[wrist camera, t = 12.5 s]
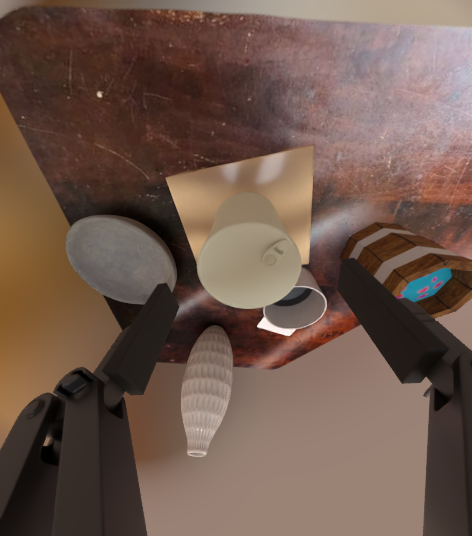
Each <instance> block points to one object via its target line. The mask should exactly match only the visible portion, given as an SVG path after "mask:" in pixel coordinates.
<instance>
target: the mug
mask: <svg viewBox="0 0 472 536" xmlns="http://www.w3.org/2000/svg"><path fill="white" fill-rule="evenodd" d="M340 258H341V260H342V259H347V258H355V259H356V260H357V261H358V262H359V263H360V264H361V265H362V266H363V267H365V268H366V269H367V270H368V271H369V272H370V273H371V274H372V275H373V276H374V277H375V278H376V279H377V280H378V281H379V282H380V283H381V284H382V285H383V286H385V287H386V288H387V289H388V290H389V291H390V292H391V293H392V294H393V295H394V296H395V297H396V298H397V299H398V298H407V299H409V300H411V301H413V302H415V303H416V304H418V305H419V306H420V307H422V308H423V309H424V310H425V311H426V312H427V314H430V315H431V316H432V317H433V318H437V317H440V316H443V315H446V314H449V313H452V312H455V311H457V310H458V309H459V308H460V307H461V306H463V305H464V304H465V303H466V302H467V301H469V300H470V299H471V298H472V260H471V259H468V258H465V257H462V256H460V255H458V254H455V253H453V252H451V251H449V250H447V249H445V248H444V247H442V246H440V245H439V244H437V243H435V242H434V241H432V240H429V239H426V238H423V237H420V236H417V235H415V234H413V233H411V232H409V231H407V230H406V229H404V228H403V227H401V226H400V225H392V224H384V223H374V224H372V225H370V226H369V227H367V228H365V229H363V230H361V231H360V232H358V233H356V234H354V235H353V236H351V237H350V238H349V240H348V242H347V244H346V246H345V248H344V250H343V252H342V254H341V256H340Z"/></svg>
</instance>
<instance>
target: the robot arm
mask: <svg viewBox="0 0 472 536" xmlns="http://www.w3.org/2000/svg"><path fill="white" fill-rule="evenodd" d="M337 290H338V291H339V293H340V294H341V296H342V297H343V298H344V300H345V301H346V303H347V304H348V306H349V307H350V309H351V310H352V312H353V313H354V314H355V316H356V317H357V319H358V320H359V322H360V323H361V325H362V326H363V328H364V329H365V330H366V332H367V333H368V335H369V336H370V338H371V339H372V341H373V342H374V344H375V345H376V347H377V348H378V349H379V351H380V352H381V354H382V355H383V357H384V358H385V360H386V361H387V362H388V364H389V365H390V367H391V368H392V370H393V371H394V373H395V374H396V376H397V377H398V379H399V380H400V381H401V383H402V384H403V383H420V382H422V380H423V379H424V378H425V377H427V378H428V379H429V380H430V381H431V383H432V385H431V386H430V387H429V388H428V389H427V390H426V391H425V393H424V395H423V396H425V397H428V396H429V395H430V405H429V424H428V445H427V465H426V486H425V505H424V526H423V536H472V351H471V350H470V349H469V348H467V347H466V346H465V345H464V344H463V343H462V342H461V341H460V340H458V339H457V338H456V337H455V336H454V335H453V334H452V333H450V332H449V331H448V330H447V329H446V328H445V327H443V326H442V325H441V324H440V323H439V322H438V321H435V319H434V318H433V317H432V316H431V315H430V314H427V312H426V311H425V310H424V309H423V308H422V307H420V306H419V305H418V304H416V303H415V302H413V301H411V300H409V299H407V298H398V299H397V298H396V297H395V296H394V295H393V294H392V293H391V292H390V291H389V290H388V289H387V288H386V287H385V286H383V285H382V284H381V283H380V282H379V281H378V280H377V279H376V278H375V277H374V276H373V275H372V274H371V273H370V272H369V271H368V270H367V269H366V268H365V267H363V266H362V265H361V264H360V263H359V262H358V261H357V260H356V259H355V258H347V259H342V264H341V269H340V275H339V281H338V287H337ZM178 309H179V305H178V303H177V301H176V300H175V298H174V296H173V294H172V292H171V290H170V288H169V286H168V284H167V283H161V284H157V286H156V288H155V289H154V291H153V292H152V294H151V295H150V297H149V298H148V300H147V301H146V303H145V305H144V306H143V308H142V309H141V311H140V312H139V314H138V315H137V317H136V318H135V320H134V322H133V323H132V325H131V326H128V327H126V328H125V329H124V330H123V331H122V332H121V333H120V334H119V336H118V337H117V339H116V340H115V343H114V344H113V345H112V346H111V349H110V350H109V351H108V352H107V354H106V355H105V357H104V358H103V360H102V361H101V362H100V364H99V365H98V367H97V368H96V370H95V371H94V373H93V374H92V373H91V372H90V371H89V370H87V369H86V368H83V367H80V368H76V369H74V370H72V371H71V372H69V373H68V374H67V375H65V376H64V377H63V378H62V379H61V380H60V381H59V383H58V384H57V385H56V387H55V389H54V392H53V393H55V394H56V395H58V396H55V395H53V394H51V393H44V394H42V395H40V396H38V397H37V398H35V399H34V400H32V401H31V402H30V403H29V404H28V405H27V406H26V407H25V408H24V409H23V410H22V412H21V413H20V415H19V416H18V418H17V420H16V422H15V423H14V425H13V427H12V429H11V431H10V433H9V435H8V437H7V438H6V440H5V442H4V444H3V446H2V448H1V450H0V536H147V531H146V525H145V519H144V513H143V507H142V501H141V494H140V488H139V482H138V476H137V470H136V464H135V458H134V452H133V446H132V440H131V434H130V428H129V422H128V416H127V410H126V404H125V400H124V397H122V396H123V394H124V392H125V391H126V392H127V393H129V394H130V395H143V394H144V391H145V389H146V387H147V384H148V382H149V379H150V377H151V374H152V372H153V370H154V367H155V365H156V362H157V360H158V358H159V355H160V353H161V350H162V348H163V345H164V343H165V341H166V338H167V336H168V333H169V331H170V328H171V326H172V324H173V321H174V319H175V316H176V314H177V311H178ZM46 437H47V438H50V441H49V443H48V445H47V446H43V444H44V441H45V439H46Z"/></svg>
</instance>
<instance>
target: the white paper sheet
mask: <svg viewBox="0 0 472 536" xmlns="http://www.w3.org/2000/svg"><path fill="white" fill-rule="evenodd" d="M257 327H259V328H263V329H266V330H269V331H273V332H276V333H279V334H283V335H286V336H290V335H291V334H292V333H293V332H294V331H295V330H296V329H282V328H278V327H275V326H273V325H272V324H270V323H269V322H268V321H267V320H266V318H265V317H264V318H263V319H262V320H261V322H260V323H259V324H258V326H257Z"/></svg>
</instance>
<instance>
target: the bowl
mask: <svg viewBox="0 0 472 536" xmlns="http://www.w3.org/2000/svg"><path fill="white" fill-rule="evenodd" d="M65 247H66V252H67V256H68V259H69V261H70V263H71V265H72V267H73V268H74V270H75V271H76V272H77V273H78V274H79V276H80V277H81V278H82V279H83V280H84V281H85V282H86V283H87V284H89V285H90V286H91V287H92V288H94V289H95V290H97V291H98V292H100V293H101V294H103V295H105V296H108V297H110V298H112V299H115V300H118V301H122V302H126V303H133V304H145V303H146V301H147V300H148V298H149V297H150V295H151V294H152V292H153V291H154V289H155V288H156V286H157V284H161V283H167V284H168V286H169V288H170V290H171V292H172V291H173V289H174V287H175V283H176V278H177V270H176V264H175V261H174V258H173V256H172V254H171V252H170V250H169V248H168V246H167V245H166V244H165V243H164V241H163V240H162V239H161V238H160V237H159V236H158V235H157V234H156V233H155V232H154V231H152V230H151V229H150V228H148V227H147V226H145V225H144V224H142V223H140V222H138V221H136V220H133V219H130V218H127V217H122V216H116V215H95V216H89V217H86V218H83V219H81V220H79V221H77V222H76V223H74V224H73V225H72V226H71V228H70V229H69V231H68V233H67V237H66V246H65Z"/></svg>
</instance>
